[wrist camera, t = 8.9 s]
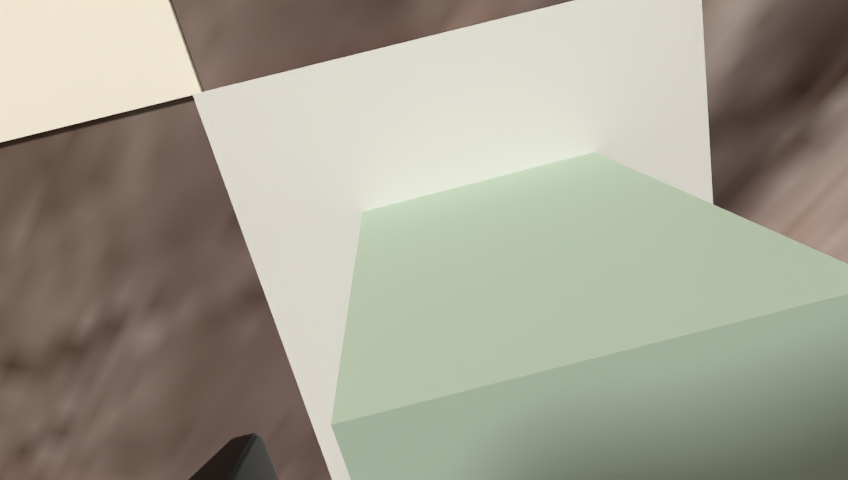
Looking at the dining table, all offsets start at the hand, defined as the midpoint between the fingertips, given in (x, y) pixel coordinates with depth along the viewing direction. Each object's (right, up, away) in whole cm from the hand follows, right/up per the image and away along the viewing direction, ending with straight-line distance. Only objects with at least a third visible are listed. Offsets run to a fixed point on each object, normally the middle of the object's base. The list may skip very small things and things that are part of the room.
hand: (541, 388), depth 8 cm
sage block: (0, +1, +4) cm, 4 cm away
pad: (0, +1, +4) cm, 4 cm away
